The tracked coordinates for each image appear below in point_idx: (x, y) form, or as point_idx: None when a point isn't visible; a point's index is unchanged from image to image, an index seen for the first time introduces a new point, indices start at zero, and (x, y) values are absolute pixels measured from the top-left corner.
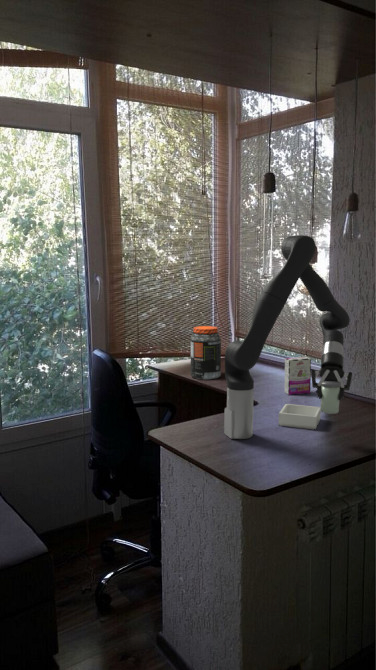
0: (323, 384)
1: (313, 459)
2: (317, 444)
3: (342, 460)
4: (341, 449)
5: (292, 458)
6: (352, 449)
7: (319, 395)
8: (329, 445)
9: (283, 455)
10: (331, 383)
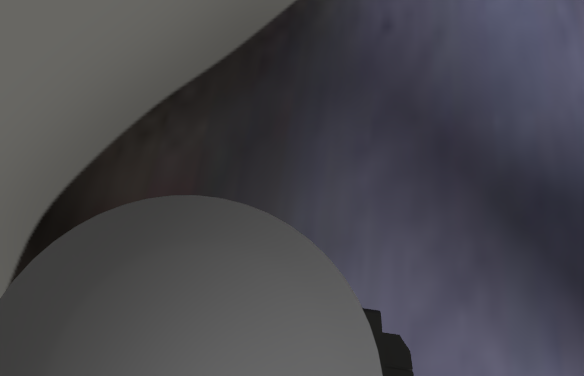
0: (341, 279)
1: (364, 83)
2: None
3: (221, 86)
4: None
5: (467, 84)
6: None
7: (372, 310)
8: None
9: (515, 117)
10: (184, 278)
